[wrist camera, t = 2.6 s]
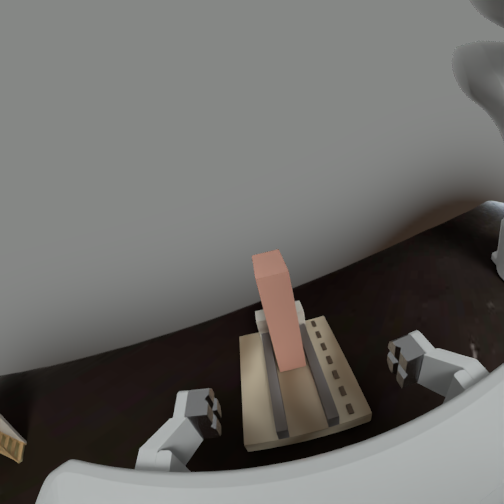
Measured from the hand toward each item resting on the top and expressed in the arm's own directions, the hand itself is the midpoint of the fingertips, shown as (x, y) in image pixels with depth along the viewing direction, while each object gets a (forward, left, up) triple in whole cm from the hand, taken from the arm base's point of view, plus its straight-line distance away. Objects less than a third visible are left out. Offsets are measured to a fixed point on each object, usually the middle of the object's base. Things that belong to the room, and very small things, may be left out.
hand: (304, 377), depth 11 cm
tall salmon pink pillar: (-3, -17, -13) cm, 21 cm away
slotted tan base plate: (-2, -14, -15) cm, 20 cm away
